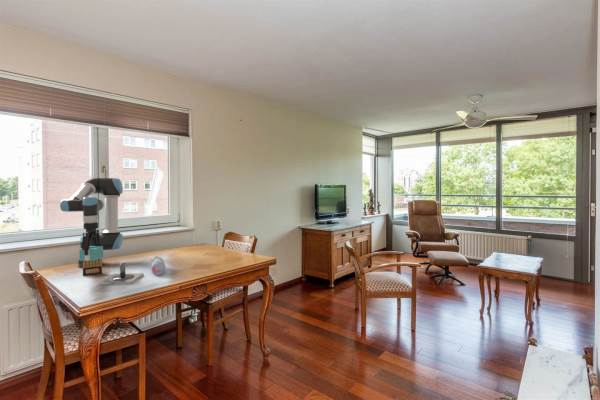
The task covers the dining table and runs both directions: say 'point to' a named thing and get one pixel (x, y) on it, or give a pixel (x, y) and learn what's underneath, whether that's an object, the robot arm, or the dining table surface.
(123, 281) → the post stand
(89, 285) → the dining table surface
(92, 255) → the collar
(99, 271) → the ammunition clip
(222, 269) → the dining table surface
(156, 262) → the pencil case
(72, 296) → the dining table surface
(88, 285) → the dining table surface
